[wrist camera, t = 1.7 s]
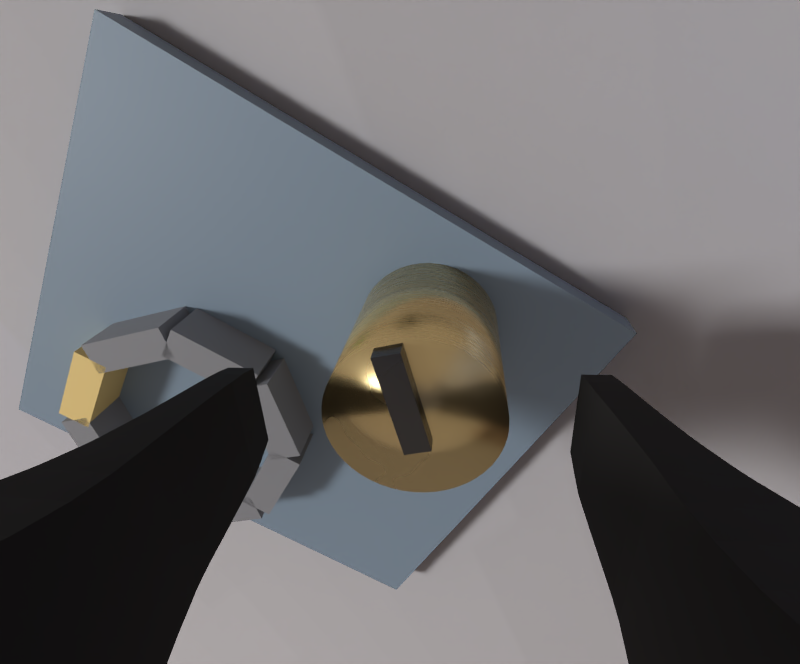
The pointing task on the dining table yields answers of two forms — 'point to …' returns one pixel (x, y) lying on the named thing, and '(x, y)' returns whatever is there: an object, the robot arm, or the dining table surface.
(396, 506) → the blue-grey flat slab
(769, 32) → the dining table surface
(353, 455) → the knob
